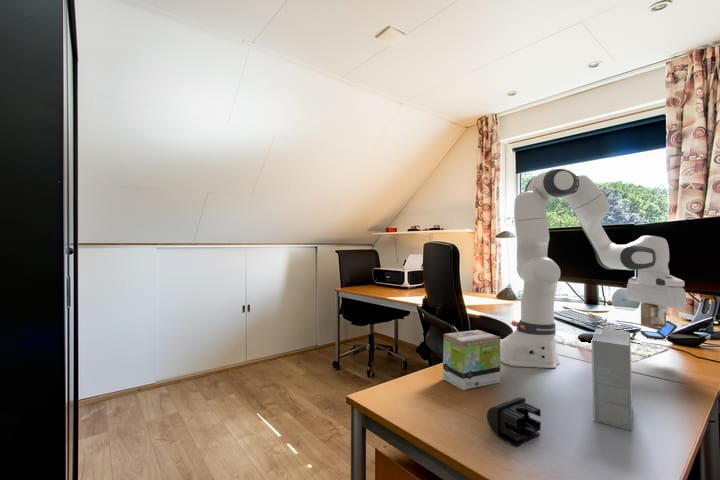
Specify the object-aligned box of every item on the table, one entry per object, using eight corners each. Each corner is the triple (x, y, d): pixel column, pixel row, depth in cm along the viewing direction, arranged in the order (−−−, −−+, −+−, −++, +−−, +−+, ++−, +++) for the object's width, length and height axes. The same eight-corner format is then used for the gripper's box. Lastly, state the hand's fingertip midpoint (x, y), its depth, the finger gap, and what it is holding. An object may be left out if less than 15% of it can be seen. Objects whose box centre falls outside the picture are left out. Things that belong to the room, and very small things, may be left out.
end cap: (513, 420, 81) (513, 393, 81) (542, 435, 74) (541, 405, 75) (486, 432, 76) (486, 402, 76) (514, 448, 69) (514, 416, 70)
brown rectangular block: (648, 327, 120) (648, 305, 120) (640, 325, 123) (640, 303, 124) (666, 327, 121) (666, 305, 121) (658, 325, 124) (658, 303, 124)
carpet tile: (668, 351, 136) (668, 346, 136) (633, 364, 121) (633, 358, 121) (569, 330, 170) (569, 326, 170) (533, 338, 156) (533, 333, 156)
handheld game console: (639, 332, 163) (639, 317, 164) (668, 335, 158) (667, 320, 159) (647, 339, 152) (646, 322, 153) (678, 342, 147) (677, 325, 148)
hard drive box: (596, 398, 92) (596, 327, 93) (632, 406, 87) (631, 331, 88) (592, 421, 80) (591, 339, 81) (632, 432, 75) (631, 345, 76)
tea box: (464, 392, 96) (464, 341, 97) (442, 379, 105) (442, 333, 106) (501, 383, 103) (501, 335, 103) (477, 371, 112) (477, 328, 112)
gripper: (621, 276, 133) (621, 310, 132) (672, 282, 112) (673, 322, 112) (636, 276, 133) (636, 310, 133) (689, 282, 113) (690, 322, 112)
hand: (653, 316), depth 122 cm, fingers closed on brown rectangular block, 3 cm apart
